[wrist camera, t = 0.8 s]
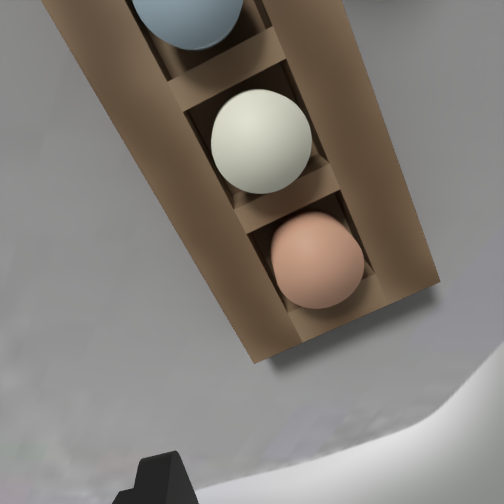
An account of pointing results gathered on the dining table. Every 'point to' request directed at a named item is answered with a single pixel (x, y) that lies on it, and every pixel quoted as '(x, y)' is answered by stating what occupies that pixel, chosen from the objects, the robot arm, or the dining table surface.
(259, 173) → the cream button
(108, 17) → the wooden slotted tray
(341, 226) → the terracotta button
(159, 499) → the robot arm
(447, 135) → the dining table surface
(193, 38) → the slate button
